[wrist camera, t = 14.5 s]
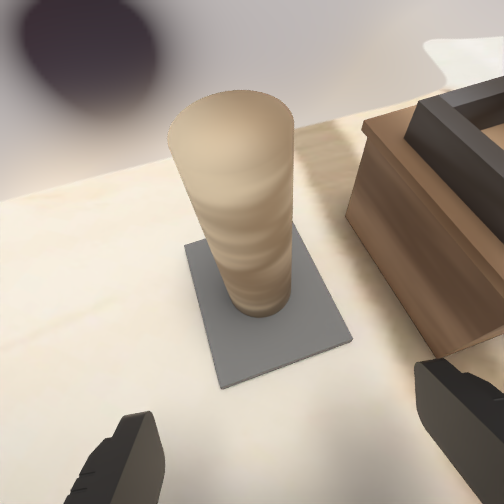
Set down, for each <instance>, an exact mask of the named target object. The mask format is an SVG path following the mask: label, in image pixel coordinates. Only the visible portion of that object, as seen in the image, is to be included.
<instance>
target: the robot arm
mask: <svg viewBox="0 0 504 504" xmlns="http://www.w3.org/2000/svg"><path fill="white" fill-rule="evenodd" d="M414 375H415V392H416V407H417V411H418V415H419V417H420V420H421V422H422V424H423V426H424V427H425V429H426V430H427V432H428V433H429V434H430V436H431V437H432V438H433V440H434V441H435V442H436V444H437V445H438V446H439V447H440V449H441V450H442V451H443V453H444V454H445V455H446V457H447V458H448V459H449V460H450V462H451V463H452V464H453V466H454V467H455V468H456V470H457V471H458V472H459V474H460V475H461V476H462V477H463V479H464V480H465V481H466V483H467V484H468V485H469V487H470V488H471V489H472V490H473V492H474V493H475V494H476V496H477V497H478V498H479V500H480V501H481V502H482V504H504V394H503V393H502V392H501V391H500V390H498V389H497V388H496V387H494V386H493V385H492V384H491V383H489V382H487V381H485V380H483V379H481V378H479V377H477V376H475V375H473V374H470V373H468V372H467V373H461V372H460V371H459V370H458V369H456V368H455V367H454V366H453V365H452V364H451V363H449V362H448V361H447V360H446V359H444V358H438V359H433V360H427V361H422V362H417V363H416V364H415V366H414ZM164 473H165V456H164V451H163V447H162V444H161V441H160V437H159V434H158V430H157V427H156V423H155V420H154V417H153V414H152V413H151V412H150V411H146V412H141V413H135V414H130V415H125V416H123V417H122V418H121V420H120V422H119V424H118V426H117V428H116V430H115V432H114V434H113V437H111V438H105V439H104V440H103V441H102V442H101V443H100V445H99V446H98V447H97V448H96V449H95V450H94V451H93V452H92V453H91V454H90V455H89V457H88V459H87V461H86V463H85V465H84V466H83V468H82V470H81V472H80V474H79V478H77V479H76V481H75V483H74V485H73V487H72V489H71V493H70V495H68V496H67V498H66V500H65V502H64V504H157V503H158V499H159V495H160V491H161V487H162V483H163V479H164Z"/></svg>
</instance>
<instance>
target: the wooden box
mask: <svg viewBox="0 0 504 504" xmlns="http://www.w3.org/2000/svg"><path fill="white" fill-rule="evenodd" d="M361 130H362V132H363V133H364V134H365V135H366V136H367V141H366V144H365V148H364V152H363V155H362V159H361V162H360V166H359V169H358V173H357V176H356V180H355V183H354V187H353V190H352V194H351V197H350V201H349V205H348V208H347V212H346V215H345V217H346V218H347V220H348V221H349V223H350V224H351V226H352V228H353V229H354V231H355V232H356V234H357V235H358V237H359V238H360V240H361V242H362V243H363V245H364V246H365V248H366V249H367V251H368V252H369V254H370V256H371V257H372V259H373V260H374V262H375V263H376V265H377V266H378V268H379V270H380V271H381V273H382V274H383V276H384V277H385V279H386V280H387V282H388V284H389V285H390V287H391V288H392V290H393V291H394V293H395V295H396V296H397V298H398V299H399V301H400V302H401V304H402V305H403V307H404V309H405V310H406V312H407V313H408V315H409V316H410V318H411V319H412V321H413V323H414V324H415V326H416V327H417V329H418V330H419V332H420V333H421V335H422V337H423V338H424V340H425V341H426V343H427V344H428V346H429V347H430V349H431V351H432V352H433V354H434V355H435V357H436V358H437V359H438V358H443V357H445V356H448V355H450V354H453V353H455V352H458V351H461V350H463V349H466V348H468V347H471V346H473V345H476V344H479V343H481V342H484V341H486V340H489V339H491V338H494V337H497V336H499V335H502V334H504V76H502V77H498V78H495V79H491V80H488V81H485V82H481V83H478V84H474V85H471V86H468V87H464V88H461V89H457V90H454V91H450V92H447V93H444V94H440V95H437V96H433V97H430V98H427V99H423V100H420V101H418V103H417V105H415V106H411V107H408V108H405V109H401V110H398V111H394V112H391V113H388V114H384V115H381V116H377V117H374V118H371V119H367V120H364V122H363V125H362V129H361Z"/></svg>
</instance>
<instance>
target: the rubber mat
mask: <svg viewBox="0 0 504 504" xmlns="http://www.w3.org/2000/svg"><path fill="white" fill-rule="evenodd" d="M184 247H185V251H186V255H187V259H188V263H189V267H190V271H191V275H192V278H193V282H194V286H195V290H196V294H197V298H198V302H199V306H200V310H201V314H202V318H203V322H204V325H205V329H206V333H207V337H208V341H209V345H210V349H211V353H212V357H213V361H214V365H215V369H216V372H217V376H218V380H219V384H220V388H221V389H225V388H227V387H230V386H233V385H235V384H238V383H241V382H243V381H246V380H249V379H252V378H254V377H257V376H260V375H262V374H265V373H268V372H270V371H273V370H276V369H279V368H281V367H284V366H287V365H289V364H292V363H295V362H297V361H300V360H303V359H306V358H308V357H311V356H314V355H316V354H319V353H322V352H324V351H327V350H330V349H332V348H335V347H338V346H341V345H343V344H346V343H349V342H351V341H352V340H353V338H352V336H351V334H350V332H349V330H348V328H347V326H346V324H345V322H344V320H343V318H342V316H341V314H340V312H339V310H338V309H337V307H336V305H335V303H334V301H333V299H332V297H331V295H330V293H329V291H328V289H327V287H326V285H325V283H324V281H323V279H322V278H321V276H320V274H319V272H318V270H317V268H316V266H315V264H314V262H313V260H312V258H311V256H310V254H309V252H308V250H307V248H306V246H305V245H304V243H303V241H302V239H301V237H300V235H299V233H298V231H297V229H296V227H295V225H294V223H293V221H292V268H291V294H290V297H289V300H288V302H287V303H286V305H285V306H284V307H283V308H282V309H281V310H280V311H279V312H277V313H276V314H273V315H271V316H268V317H263V318H256V317H250V316H247V315H245V314H243V313H242V312H240V311H239V310H238V309H237V308H236V307H235V306H234V304H233V303H232V301H231V298H230V296H229V293H228V291H227V288H226V286H225V284H224V281H223V279H222V276H221V274H220V271H219V269H218V267H217V264H216V262H215V259H214V257H213V254H212V252H211V249H210V247H209V245H208V242H207V240H206V239H203V240H200V241H196V242H193V243H190V244H187V245H184Z"/></svg>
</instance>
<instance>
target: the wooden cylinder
mask: <svg viewBox="0 0 504 504" xmlns="http://www.w3.org/2000/svg"><path fill="white" fill-rule="evenodd" d="M167 141H168V146H169V149H170V152H171V154H172V157H173V159H174V161H175V164H176V166H177V169H178V171H179V174H180V176H181V179H182V181H183V183H184V186H185V188H186V191H187V193H188V196H189V198H190V201H191V203H192V205H193V208H194V210H195V213H196V215H197V218H198V220H199V223H200V225H201V227H202V230H203V232H204V235H205V237H206V240H207V242H208V245H209V247H210V249H211V252H212V254H213V257H214V259H215V262H216V264H217V267H218V269H219V271H220V274H221V276H222V279H223V281H224V284H225V286H226V288H227V291H228V293H229V296H230V298H231V301H232V303H233V304H234V306H235V307H236V308H237V309H238V310H239V311H240V312H242V313H243V314H245V315H247V316H250V317H256V318H263V317H268V316H271V315H273V314H276V313H277V312H279V311H280V310H281V309H282V308H283V307H284V306H285V305H286V303H287V302H288V300H289V297H290V294H291V268H292V214H293V159H294V120H293V116H292V113H291V112H290V110H289V108H288V107H287V106H286V105H285V104H284V103H283V102H281V101H280V100H279V99H277V98H275V97H273V96H271V95H268V94H265V93H262V92H257V91H250V90H233V91H225V92H220V93H216V94H212V95H209V96H207V97H204V98H202V99H200V100H198V101H196V102H194V103H192V104H191V105H189V106H188V107H186V108H185V109H184V110H183V111H181V112H180V114H179V115H178V116H177V117H176V118H175V119H174V121H173V122H172V124H171V126H170V128H169V131H168V136H167Z"/></svg>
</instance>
